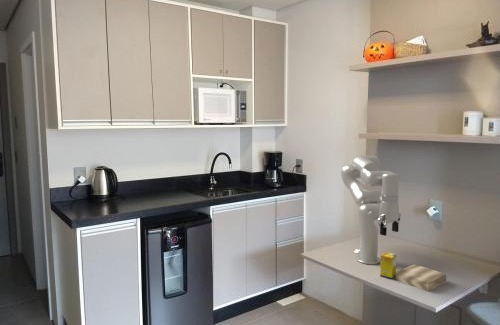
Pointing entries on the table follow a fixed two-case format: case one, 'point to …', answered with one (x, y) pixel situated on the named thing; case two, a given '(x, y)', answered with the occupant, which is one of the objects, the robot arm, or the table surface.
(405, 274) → the birch riser
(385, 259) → the supplement box
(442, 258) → the table surface
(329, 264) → the table surface
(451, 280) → the table surface
